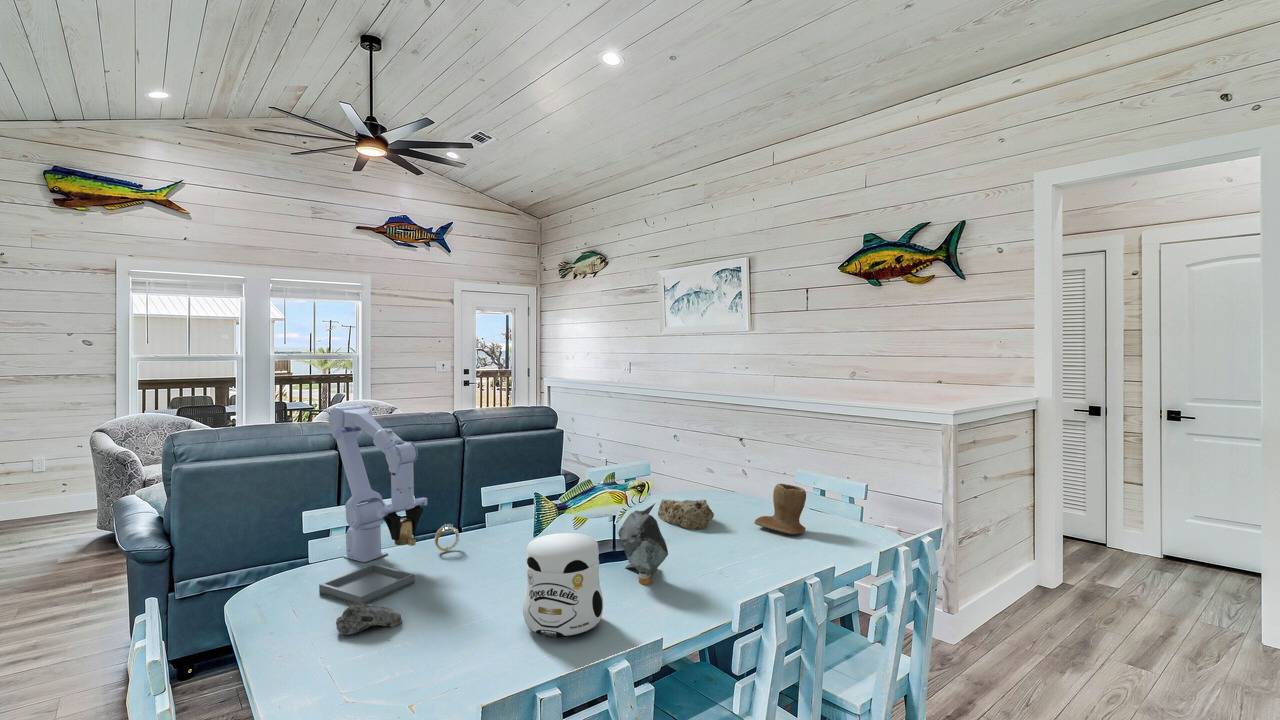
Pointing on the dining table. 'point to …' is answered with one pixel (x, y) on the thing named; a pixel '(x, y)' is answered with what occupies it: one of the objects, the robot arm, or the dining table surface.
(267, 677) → the dining table surface
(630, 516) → the grey faceted chunk
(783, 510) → the brown flared cylinder
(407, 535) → the brass short cylinder
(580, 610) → the doce de leite jar
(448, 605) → the dining table surface
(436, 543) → the ring
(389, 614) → the grey rough irregular lump
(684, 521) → the rock
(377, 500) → the robot arm
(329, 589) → the tray
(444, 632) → the dining table surface
